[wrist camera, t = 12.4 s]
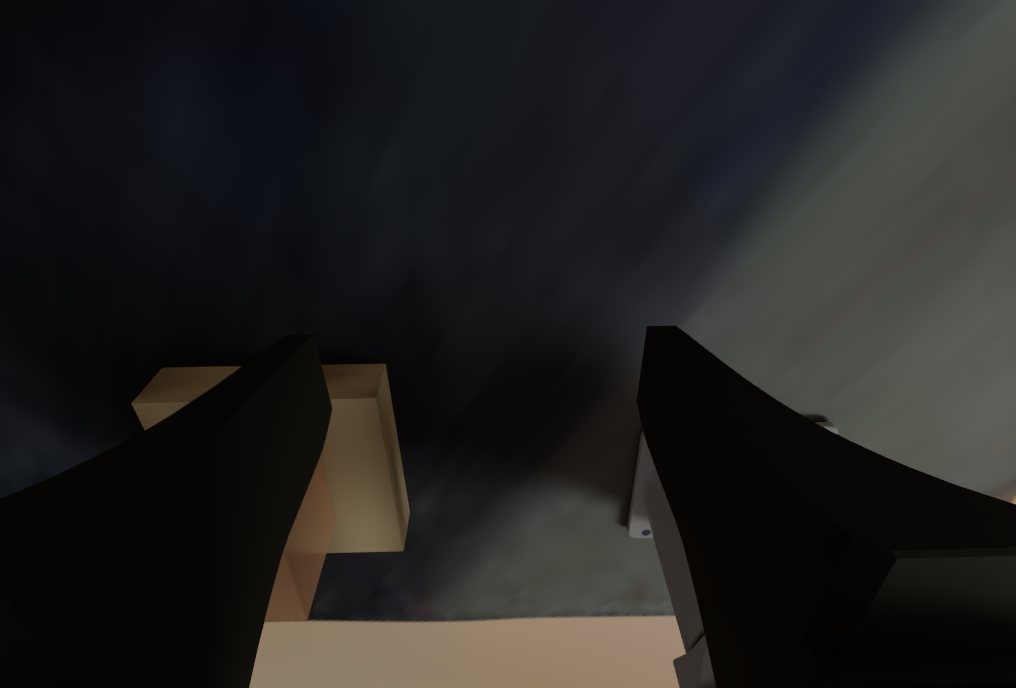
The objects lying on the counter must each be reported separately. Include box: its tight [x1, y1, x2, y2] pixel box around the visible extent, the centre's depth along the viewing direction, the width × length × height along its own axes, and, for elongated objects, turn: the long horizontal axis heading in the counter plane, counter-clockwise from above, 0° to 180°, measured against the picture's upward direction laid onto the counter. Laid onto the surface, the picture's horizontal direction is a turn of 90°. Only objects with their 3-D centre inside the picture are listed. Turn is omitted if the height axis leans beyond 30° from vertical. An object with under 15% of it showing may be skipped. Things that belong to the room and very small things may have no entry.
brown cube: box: [264, 458, 335, 622], centre depth 23 cm, size 5×5×5 cm
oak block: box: [131, 364, 410, 553], centre depth 27 cm, size 10×10×3 cm
